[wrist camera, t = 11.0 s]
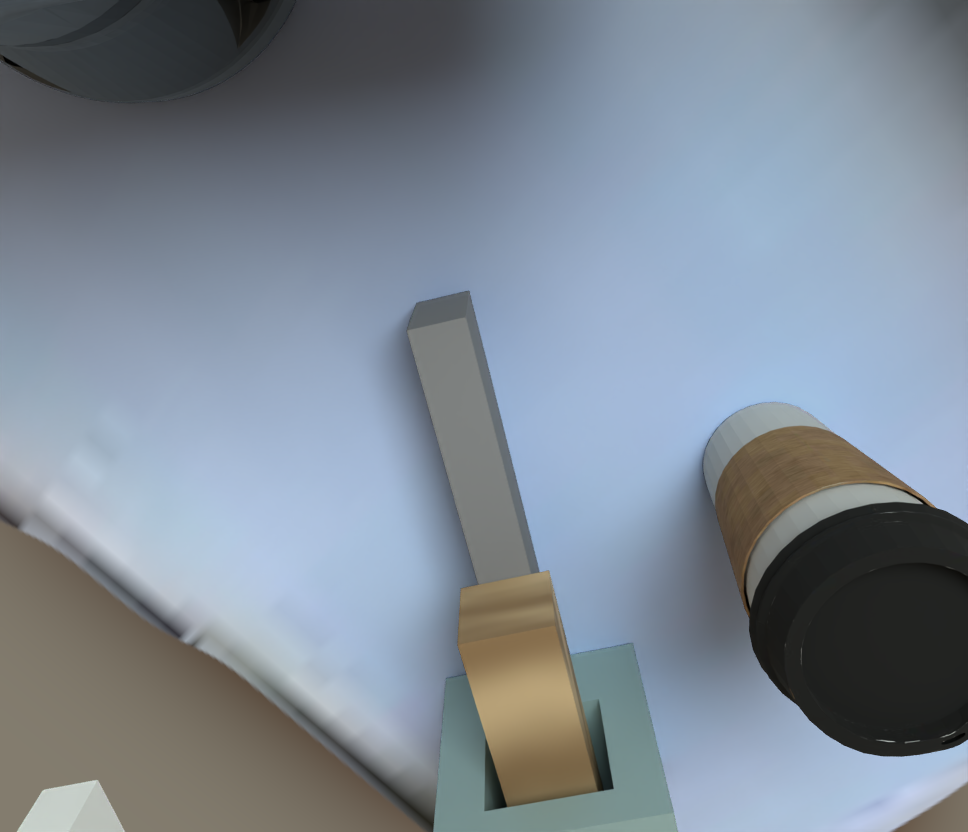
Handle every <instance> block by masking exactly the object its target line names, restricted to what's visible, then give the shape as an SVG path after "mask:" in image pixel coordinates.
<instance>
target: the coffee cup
mask: <svg viewBox="0 0 968 832" xmlns="http://www.w3.org/2000/svg"><path fill="white" fill-rule="evenodd" d="M703 471H704V476H705V481H706V485H707V487H708V490H709V493H710V496H711V499H712V502H713V504H714V507H715V510H716V514H717V518H718V522H719V525H720V529H721V532H722V535H723V538H724V542H725V545H726V548H727V552H728V555H729V558H730V562H731V565H732V568H733V571H734V575H735V578H736V581H737V585H738V588H739V591H740V595H741V598H742V601H743V605H744V608H745V610H746V612H747V614H748V616H749V619H750V620H749V632H750V637H751V642H752V647H753V651H754V653H755V655H756V657H757V659H758V661H759V663H760V665H761V667H762V669H763V670H764V671H765V672H766V673H767V675H768V676H769V678H770V679H771V681H772V682H773V683H774V684H775V685H776V687H777V688H778V689H779V690H780V691H781V692H782V694H784V695H785V696H786V697H788V698H789V699H790V700H791V701H793V702H794V703H795V704H797V705H798V706H799V707H800V709H801V710H802V711H803V713H804V714H805V715H806V716H807V718H808V719H809V720H810V721H811V722H812V723H813V724H814V725H816V726H817V727H818V728H819V729H820V730H821V731H823V732H824V733H825V734H826V735H828V736H829V737H831V738H833V739H834V740H836V741H838V742H839V743H841V744H843V745H844V746H847V747H849V748H852V749H855V750H857V751H860V752H862V753H867V754H873V755H878V756H901V757H902V756H912V755H920V754H926V753H931V752H936V751H941V750H945V749H949V748H953V747H955V746H958V745H960V744H962V743H963V742H965V741H966V740H968V524H967V523H966V522H964V521H963V520H961V519H959V518H957V517H955V516H954V515H952V514H950V513H948V512H946V511H944V510H940V509H937V508H936V507H935V506H934V505H932V504H931V503H930V502H929V501H928V500H927V499H926V498H924V497H923V496H922V495H920V494H919V493H918V492H916V491H915V490H913V489H912V488H911V487H909V486H908V485H907V484H905V483H904V482H902V481H901V480H900V479H898V478H897V477H895V476H894V475H893V474H891V473H890V472H889V471H887V470H886V469H884V468H883V467H882V466H880V465H879V464H878V463H876V462H875V461H873V460H872V459H871V458H869V457H868V456H866V455H865V454H864V453H862V452H861V451H860V450H858V449H857V448H855V447H854V446H853V445H851V444H850V443H849V442H847V441H846V440H844V439H843V438H841V437H840V436H838V435H836V434H835V433H834V432H832V431H831V430H830V429H829V428H827V427H826V426H825V425H824V424H822V423H821V422H820V421H819V420H817V419H816V418H815V417H814V416H812V415H811V414H810V413H808V412H806V411H804V410H803V409H801V408H799V407H796V406H793V405H790V404H787V403H778V402H770V403H760V404H756V405H753V406H749V407H747V408H744V409H742V410H740V411H738V412H736V413H735V414H733V415H732V416H730V417H729V418H727V419H726V420H725V421H724V422H723V423H722V424H721V425H720V426H719V427H718V428H717V430H716V431H715V432H714V434H713V435H712V437H711V438H710V440H709V443H708V445H707V447H706V450H705V455H704V459H703Z"/></svg>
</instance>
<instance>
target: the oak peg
mask: <svg viewBox="0 0 968 832" xmlns="http://www.w3.org/2000/svg"><path fill="white" fill-rule="evenodd" d="M457 645H458V648H459V651H460V655H461V658H462V661H463V664H464V668H465V671H466V674H467V677H468V681H469V684H470V687H471V690H472V694H473V697H474V700H475V703H476V707H477V710H478V713H479V716H480V719H481V723H482V726H483V729H484V732H485V736H486V739H487V742H488V745H489V749H490V752H491V755H492V758H493V762H494V765H495V768H496V771H497V775H498V778H499V781H500V784H501V788H502V791H503V794H504V797H505V800H506V804H507V807H513V806H519V805H524V804H530V803H536V802H542V801H547V800H553V799H559V798H565V797H571V796H576V795H582V794H588V793H594V792H600V791H604V789H603V785H602V781H601V777H600V773H599V769H598V765H597V761H596V757H595V753H594V749H593V745H592V741H591V737H590V733H589V729H588V725H587V721H586V717H585V713H584V709H583V705H582V701H581V697H580V693H579V689H578V685H577V681H576V677H575V673H574V669H573V665H572V661H571V657H570V653H569V649H568V645H567V641H566V637H565V633H564V629H563V625H562V621H561V617H560V613H559V609H558V605H557V601H556V597H555V593H554V589H553V585H552V581H551V577H550V573H549V571H544V572H539V573H534V574H529V575H524V576H519V577H515V578H510V579H505V580H500V581H495V582H490V583H485V584H480V585H475V586H470V587H465V588H461V593H460V610H459V627H458V644H457Z"/></svg>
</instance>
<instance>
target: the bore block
mask: <svg viewBox="0 0 968 832" xmlns="http://www.w3.org/2000/svg"><path fill="white" fill-rule="evenodd" d="M570 657H571V661H572V665H573V669H574V673H575V677H576V681H577V685H578V689H579V693H580V697H581V701H582V705H583V709H584V713H585V717H586V721H587V725H588V729H589V733H590V737H591V741H592V745H593V749H594V753H595V757H596V761H597V765H598V769H599V773H600V777H601V781H602V785H603V789H604V791H600V792H594V793H588V794H582V795H576V796H571V797H565V798H559V799H553V800H547V801H542V802H536V803H530V804H524V805H519V806H513V807H507V804H506V800H505V797H504V794H503V791H502V788H501V784H500V781H499V778H498V775H497V771H496V768H495V765H494V762H493V758H492V755H491V752H490V749H489V745H488V742H487V739H486V736H485V732H484V729H483V726H482V723H481V719H480V716H479V713H478V710H477V707H476V703H475V700H474V697H473V694H472V690H471V687H470V684H469V681H468V677H467V675H462V676H456V677H451V678H446V685H445V697H444V709H443V721H442V733H441V745H440V758H439V770H438V782H437V794H436V806H435V818H434V830H433V832H678V830H677V825H676V821H675V816H674V811H673V807H672V803H671V799H670V795H669V791H668V787H667V782H666V778H665V774H664V770H663V766H662V762H661V758H660V754H659V750H658V746H657V741H656V737H655V733H654V729H653V725H652V721H651V717H650V713H649V709H648V704H647V700H646V696H645V692H644V688H643V684H642V680H641V676H640V672H639V667H638V663H637V659H636V655H635V651H634V647H633V643H631V644H626V645H620V646H615V647H610V648H604V649H599V650H594V651H589V652H583V653H578V654H573V655H570Z"/></svg>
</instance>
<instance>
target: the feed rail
mask: <svg viewBox="0 0 968 832" xmlns="http://www.w3.org/2000/svg"><path fill="white" fill-rule="evenodd" d="M407 334H408V337H409V341H410V344H411V348H412V351H413V355H414V359H415V362H416V366H417V369H418V373H419V376H420V380H421V383H422V387H423V390H424V394H425V398H426V401H427V405H428V408H429V412H430V415H431V419H432V422H433V426H434V429H435V433H436V436H437V440H438V444H439V447H440V451H441V454H442V458H443V461H444V465H445V468H446V472H447V475H448V479H449V483H450V486H451V490H452V493H453V497H454V500H455V504H456V507H457V511H458V514H459V518H460V522H461V525H462V529H463V532H464V536H465V539H466V543H467V546H468V550H469V553H470V557H471V560H472V564H473V568H474V571H475V575H476V578H477V582H478V585H480V584H485V583H490V582H495V581H500V580H505V579H510V578H515V577H519V576H524V575H529V574H534V573H539V568H538V564H537V560H536V556H535V552H534V548H533V544H532V540H531V536H530V532H529V528H528V524H527V520H526V516H525V512H524V508H523V504H522V500H521V496H520V492H519V488H518V484H517V480H516V476H515V472H514V468H513V464H512V460H511V456H510V452H509V448H508V444H507V440H506V436H505V432H504V428H503V424H502V420H501V416H500V412H499V408H498V404H497V400H496V396H495V392H494V388H493V384H492V380H491V376H490V372H489V368H488V364H487V360H486V356H485V352H484V348H483V344H482V340H481V336H480V332H479V328H478V324H477V320H476V316H475V312H474V308H473V304H472V300H471V296H470V292H469V291H465V292H461V293H457V294H453V295H448V296H444V297H440V298H436V299H431V300H427V301H423V302H418V303H416V306H415V309H414V311H413V314H412V317H411V320H410V323H409V326H408V328H407Z"/></svg>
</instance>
